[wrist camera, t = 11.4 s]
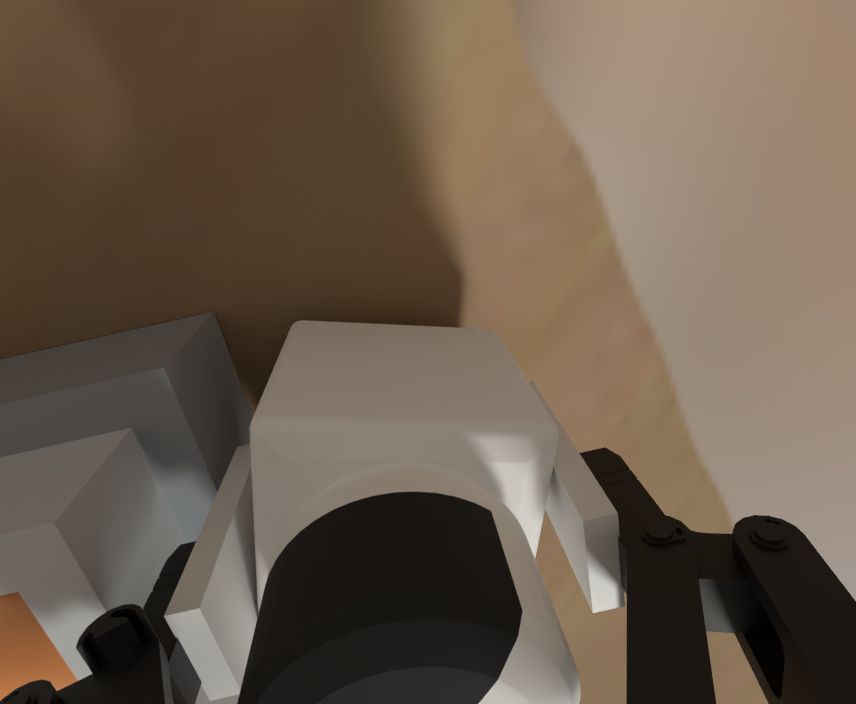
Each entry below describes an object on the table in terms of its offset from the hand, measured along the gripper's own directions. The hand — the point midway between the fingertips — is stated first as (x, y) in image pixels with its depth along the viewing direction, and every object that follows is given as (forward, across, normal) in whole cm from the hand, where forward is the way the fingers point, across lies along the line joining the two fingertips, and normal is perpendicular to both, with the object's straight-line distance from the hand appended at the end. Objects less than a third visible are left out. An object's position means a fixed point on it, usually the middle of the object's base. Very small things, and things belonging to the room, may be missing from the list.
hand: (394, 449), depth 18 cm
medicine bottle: (+2, 0, 0) cm, 2 cm away
